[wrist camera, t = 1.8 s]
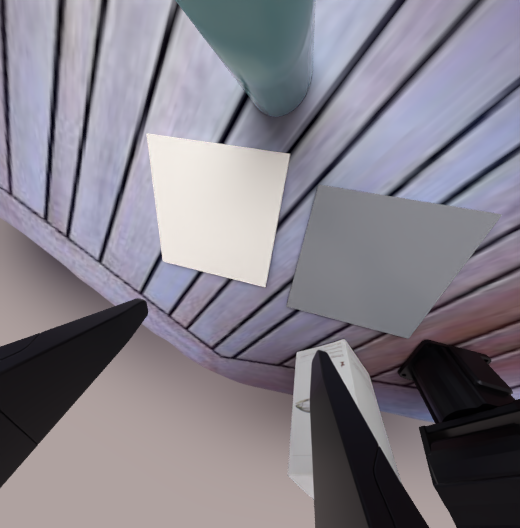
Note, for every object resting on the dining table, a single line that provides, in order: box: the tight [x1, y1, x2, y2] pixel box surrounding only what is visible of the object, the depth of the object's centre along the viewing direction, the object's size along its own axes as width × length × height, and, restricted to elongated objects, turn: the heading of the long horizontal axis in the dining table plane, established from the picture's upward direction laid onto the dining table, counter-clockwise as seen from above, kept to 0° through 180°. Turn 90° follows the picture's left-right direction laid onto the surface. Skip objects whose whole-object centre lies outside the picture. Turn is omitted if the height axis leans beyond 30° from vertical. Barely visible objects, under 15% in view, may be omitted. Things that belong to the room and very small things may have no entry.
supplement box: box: [288, 339, 402, 500], centre depth 20 cm, size 7×7×13 cm
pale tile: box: [147, 134, 291, 287], centre depth 20 cm, size 14×14×1 cm
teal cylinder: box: [176, 0, 315, 117], centre depth 8 cm, size 5×5×13 cm
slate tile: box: [286, 184, 502, 339], centre depth 19 cm, size 14×14×1 cm
